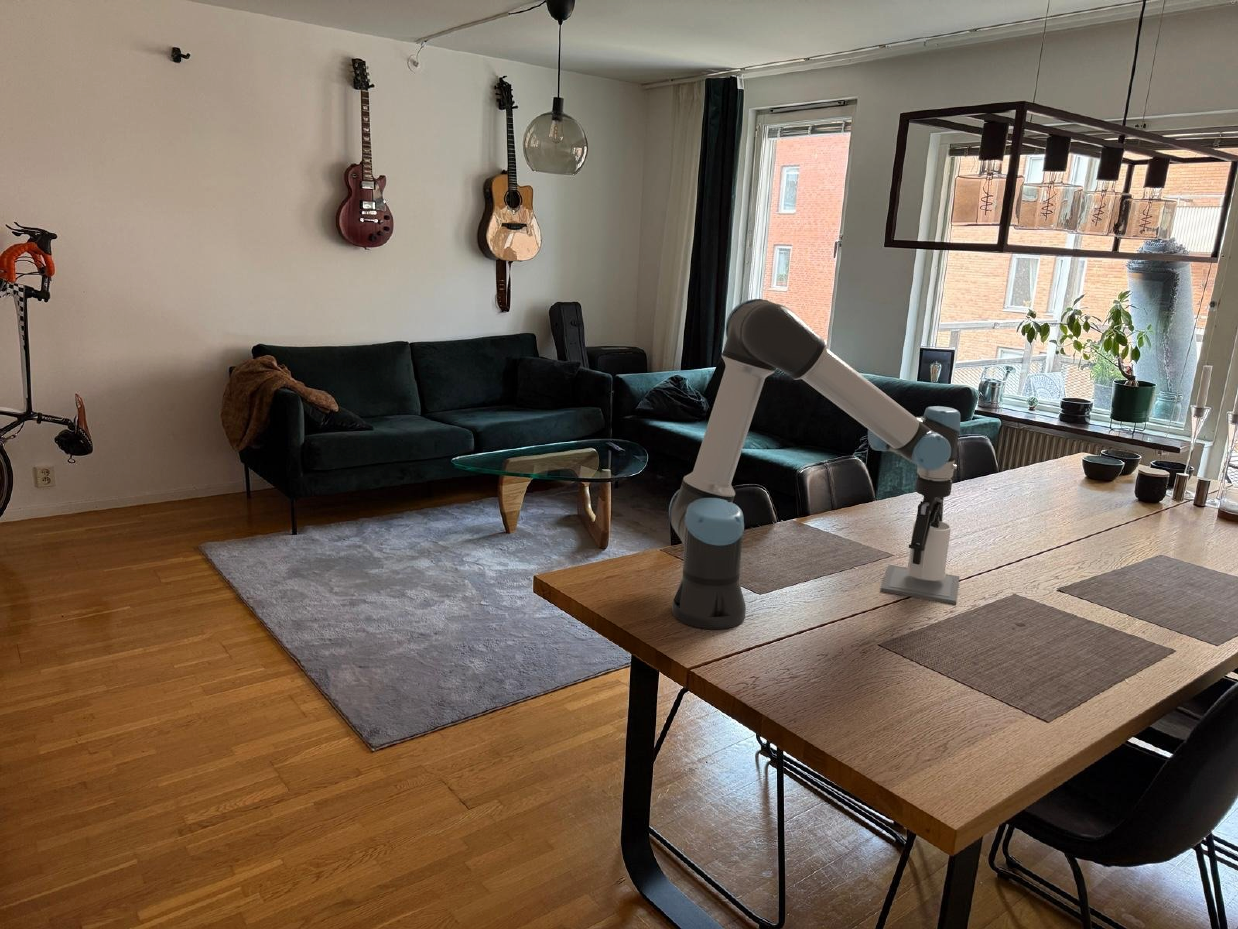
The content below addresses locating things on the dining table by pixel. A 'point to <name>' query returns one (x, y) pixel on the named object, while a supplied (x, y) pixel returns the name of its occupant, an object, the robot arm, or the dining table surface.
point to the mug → (934, 552)
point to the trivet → (920, 585)
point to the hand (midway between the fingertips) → (922, 568)
